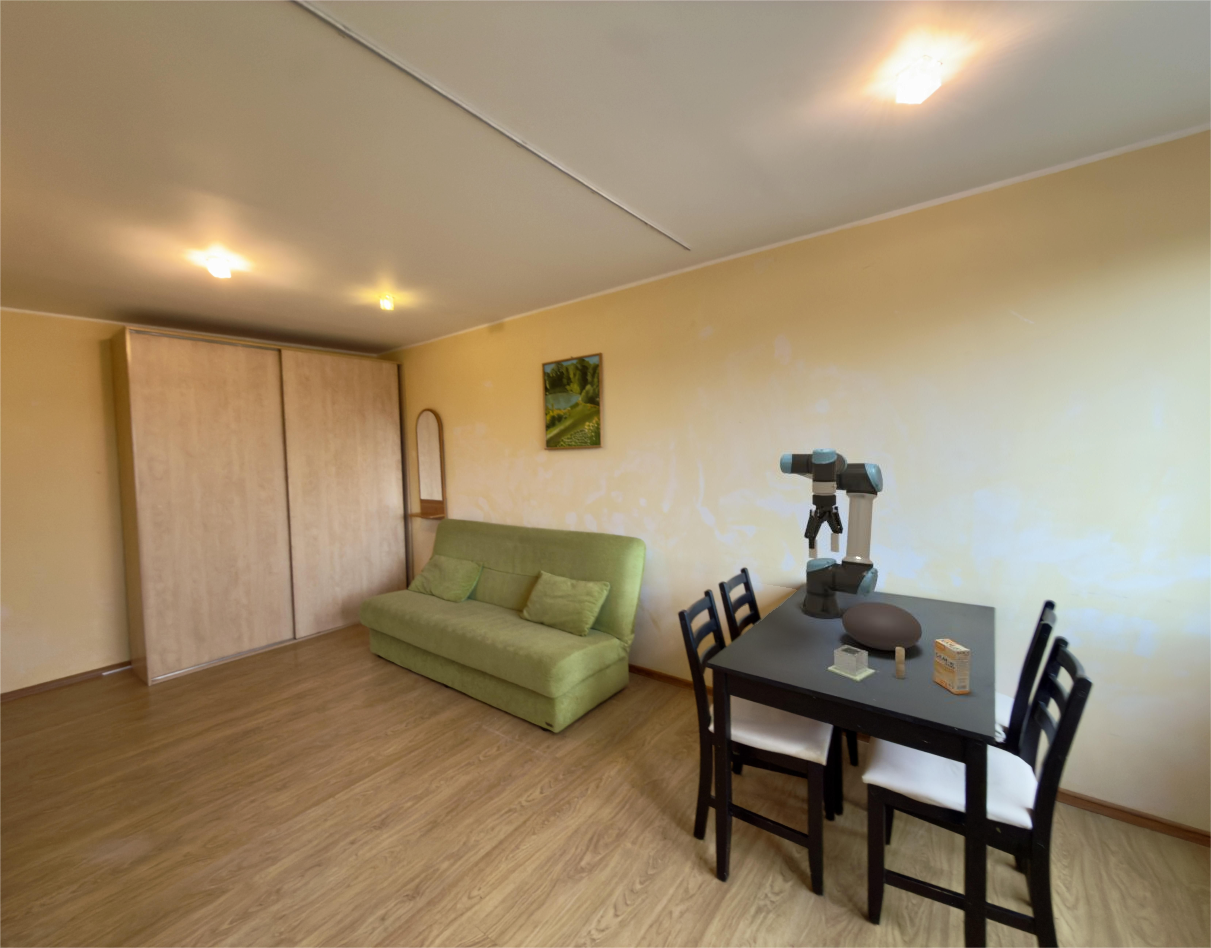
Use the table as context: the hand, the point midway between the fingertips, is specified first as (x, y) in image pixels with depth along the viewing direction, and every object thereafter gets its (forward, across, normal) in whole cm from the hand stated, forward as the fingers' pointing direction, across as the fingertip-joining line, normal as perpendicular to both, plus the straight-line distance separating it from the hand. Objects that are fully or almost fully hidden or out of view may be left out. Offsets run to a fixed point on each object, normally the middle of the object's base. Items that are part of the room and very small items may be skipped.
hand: (824, 554), depth 169 cm
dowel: (+34, 0, -25) cm, 42 cm away
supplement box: (+34, +5, -37) cm, 50 cm away
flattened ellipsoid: (+35, +20, -10) cm, 41 cm away
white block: (+34, -8, -13) cm, 37 cm away
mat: (+34, -8, -14) cm, 37 cm away
